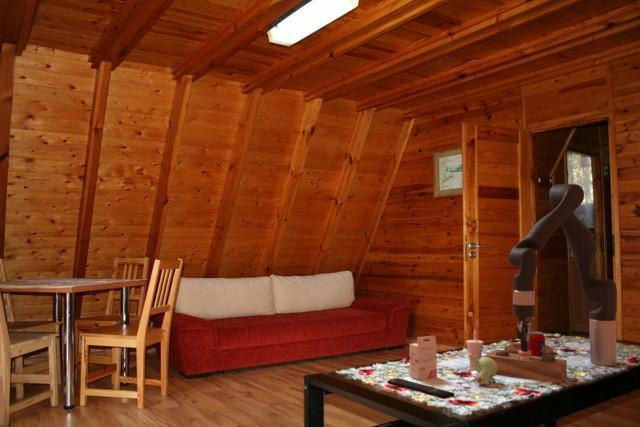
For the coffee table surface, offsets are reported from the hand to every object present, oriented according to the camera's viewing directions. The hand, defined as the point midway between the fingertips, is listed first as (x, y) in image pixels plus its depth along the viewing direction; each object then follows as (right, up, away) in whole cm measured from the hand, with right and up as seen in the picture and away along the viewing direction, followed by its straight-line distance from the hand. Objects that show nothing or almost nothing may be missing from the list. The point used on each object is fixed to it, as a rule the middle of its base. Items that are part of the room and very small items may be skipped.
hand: (524, 351), depth 193 cm
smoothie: (-14, -9, +12) cm, 21 cm away
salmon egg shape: (0, -7, 0) cm, 7 cm away
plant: (+17, -11, +39) cm, 44 cm away
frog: (-19, -8, -12) cm, 24 cm away
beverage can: (+12, -10, +18) cm, 24 cm away
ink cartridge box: (-37, -8, -4) cm, 39 cm away
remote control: (-42, -8, -19) cm, 47 cm away
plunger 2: (+7, -8, -5) cm, 11 cm away
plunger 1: (-7, -8, +4) cm, 11 cm away
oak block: (0, -8, 0) cm, 8 cm away
